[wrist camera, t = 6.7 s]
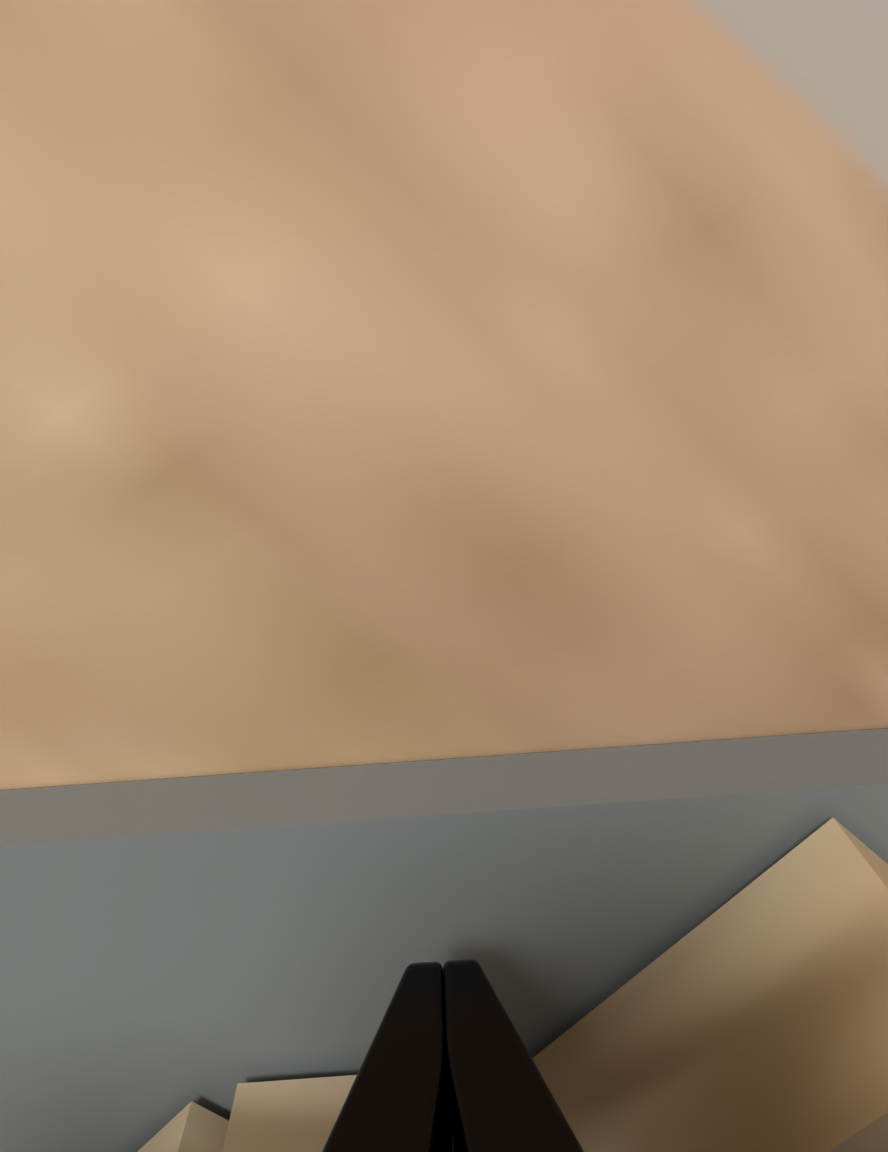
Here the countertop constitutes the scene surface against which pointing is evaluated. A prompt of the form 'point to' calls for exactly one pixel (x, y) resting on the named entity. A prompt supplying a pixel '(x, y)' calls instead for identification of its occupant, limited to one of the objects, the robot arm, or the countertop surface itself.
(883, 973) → the ring with handle
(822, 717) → the countertop surface
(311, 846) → the board
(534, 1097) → the robot arm
